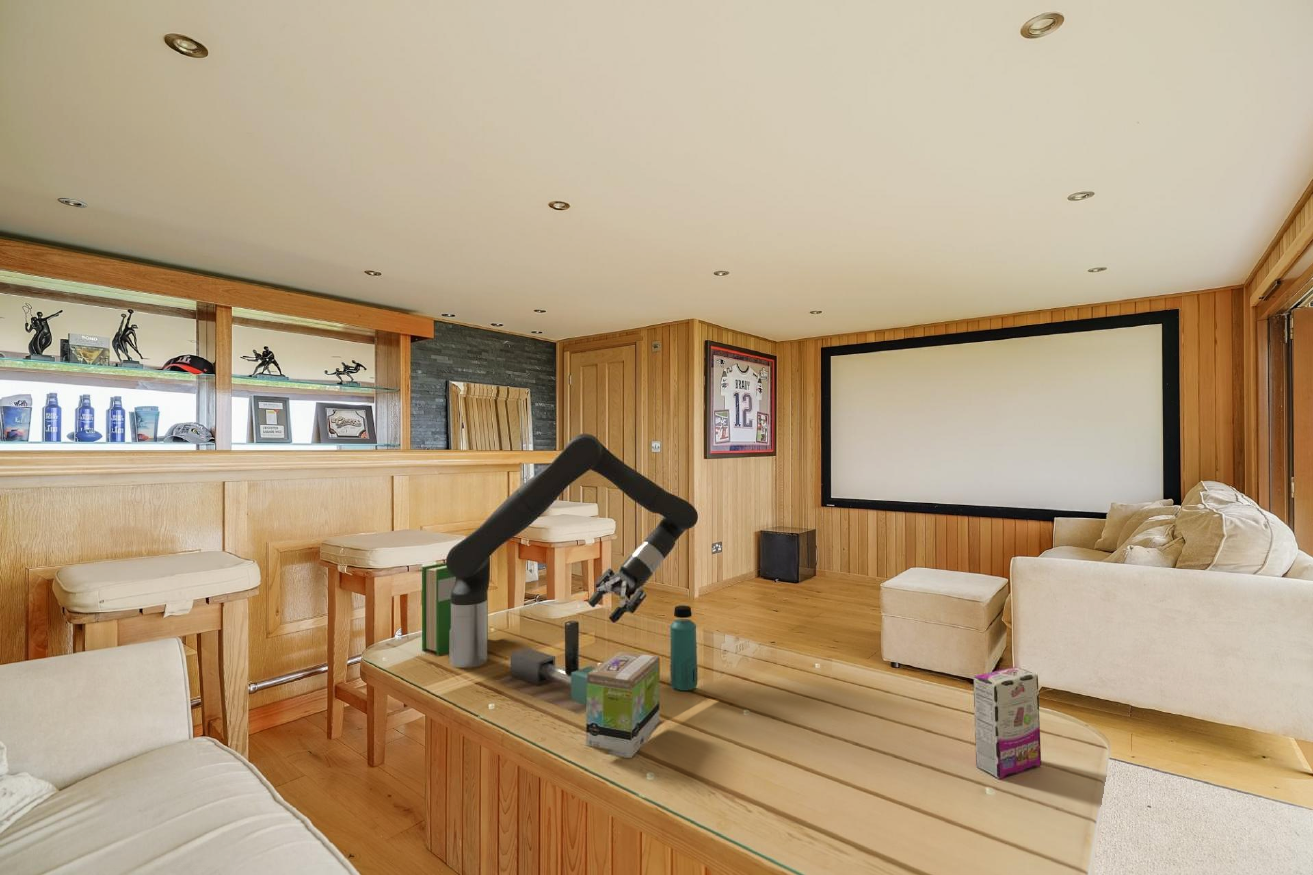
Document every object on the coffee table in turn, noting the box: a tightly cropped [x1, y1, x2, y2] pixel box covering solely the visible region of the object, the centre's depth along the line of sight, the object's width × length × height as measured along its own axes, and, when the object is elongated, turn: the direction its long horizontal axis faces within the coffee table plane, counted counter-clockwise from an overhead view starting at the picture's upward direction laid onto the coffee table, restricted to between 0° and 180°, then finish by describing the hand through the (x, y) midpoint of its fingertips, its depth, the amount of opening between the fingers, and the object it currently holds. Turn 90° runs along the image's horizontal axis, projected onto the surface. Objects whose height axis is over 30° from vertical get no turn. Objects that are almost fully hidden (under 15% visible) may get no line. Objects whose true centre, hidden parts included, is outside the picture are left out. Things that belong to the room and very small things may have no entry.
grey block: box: [509, 647, 556, 687], centre depth 153 cm, size 10×5×6 cm, turn 50°
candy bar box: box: [972, 666, 1042, 780], centre depth 111 cm, size 11×5×16 cm, turn 114°
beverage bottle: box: [669, 605, 699, 691], centre depth 147 cm, size 6×7×20 cm
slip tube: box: [540, 620, 580, 687], centre depth 145 cm, size 20×3×15 cm, turn 50°
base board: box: [494, 675, 587, 715], centre depth 147 cm, size 30×14×1 cm, turn 50°
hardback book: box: [421, 562, 489, 656], centre depth 183 cm, size 18×7×24 cm, turn 146°
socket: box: [571, 665, 597, 706], centre depth 140 cm, size 7×6×6 cm
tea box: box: [585, 650, 661, 759], centre depth 123 cm, size 15×10×15 cm, turn 160°
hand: (600, 612), depth 155 cm, fingers open, 8 cm apart
